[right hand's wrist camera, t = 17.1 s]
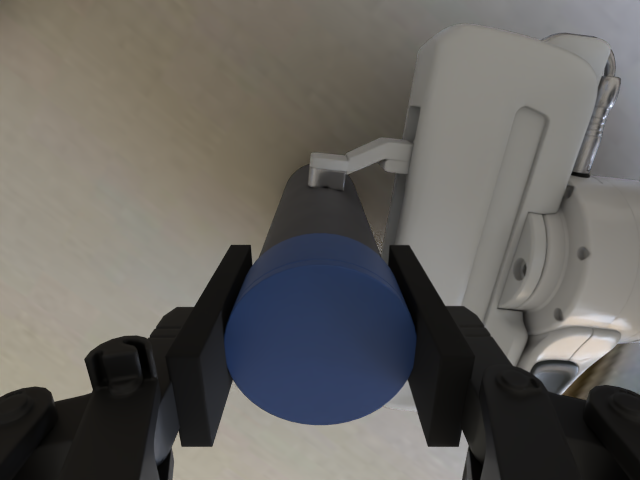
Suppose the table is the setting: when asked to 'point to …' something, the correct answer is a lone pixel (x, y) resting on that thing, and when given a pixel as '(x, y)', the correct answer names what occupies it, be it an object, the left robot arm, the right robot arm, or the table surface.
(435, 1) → the table surface
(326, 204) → the jar
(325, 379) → the lid
